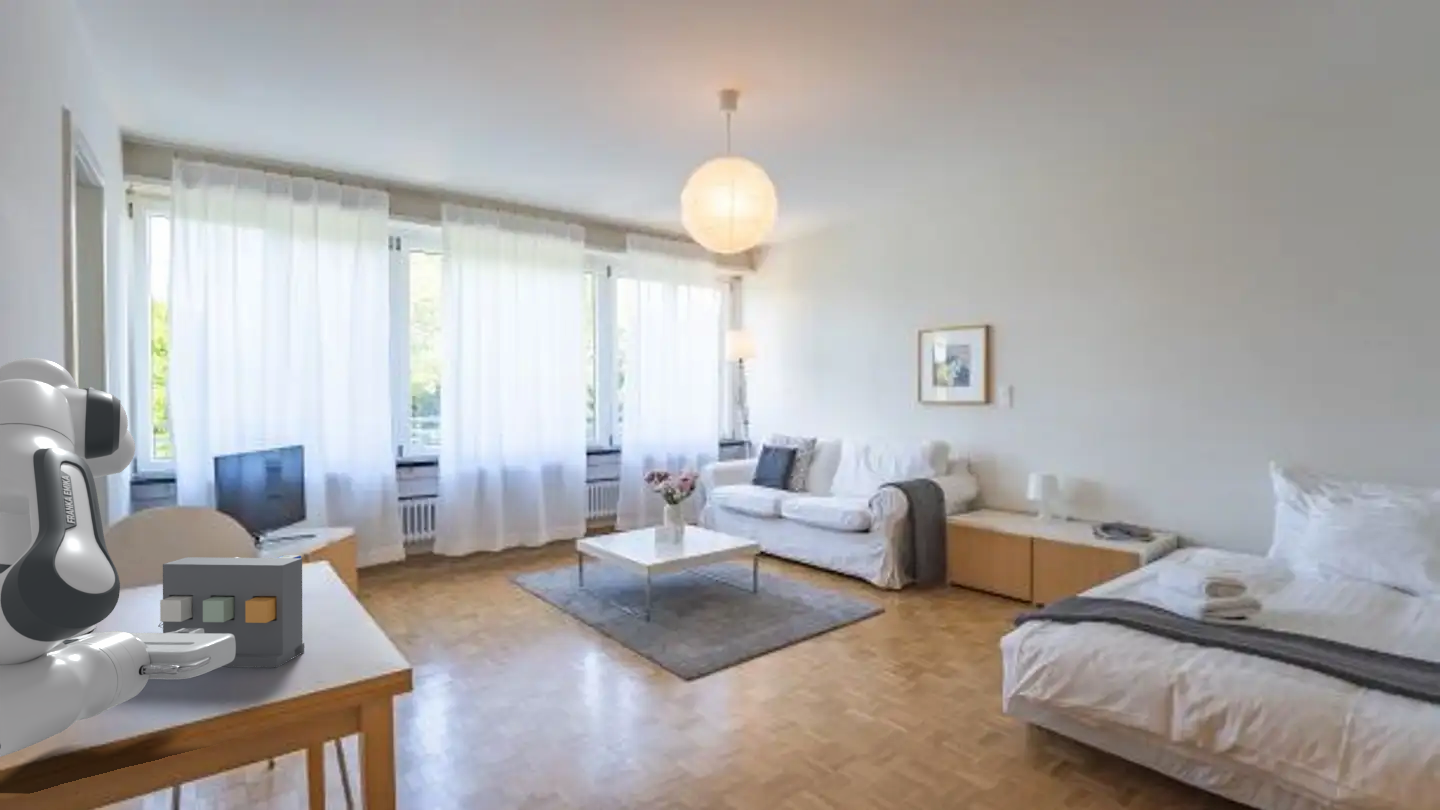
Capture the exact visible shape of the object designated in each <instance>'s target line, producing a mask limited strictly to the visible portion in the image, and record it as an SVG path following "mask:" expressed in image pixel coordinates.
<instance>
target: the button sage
mask: <svg viewBox="0 0 1440 810" xmlns="http://www.w3.org/2000/svg"><path fill="white" fill-rule="evenodd" d="M232 618H235V596H214V597H212V598H209V599H206V600H203V622H225V621H228V620H230V619H232Z"/></svg>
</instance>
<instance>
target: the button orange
mask: <svg viewBox="0 0 1440 810" xmlns="http://www.w3.org/2000/svg"><path fill="white" fill-rule="evenodd" d="M245 616H246V623H267V622H269V621H271V620H274V619H276V618H277V596H257V597H255V598H252V599H250V600H247V601H245Z"/></svg>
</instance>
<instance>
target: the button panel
mask: <svg viewBox="0 0 1440 810" xmlns="http://www.w3.org/2000/svg"><path fill="white" fill-rule="evenodd" d="M174 595H193V617H192V618H189V619H187V620H184V621H182V622H166V621H163V622H162V624H163V625H162V627H163V628H162V633H168V632H175V631H177V630H180V629H182V628H187V629H198V628H199V629H204V633H222V634H225V633H229V634H233V635H234V637H235V642H236V653H235V658H234V660H233V661H232V662H230V663H228V664H226V665H224V666H222V667H221V668H223V667H224V668H225V667H226V668H227V667H228V668H231V667H232V668H233V667H234V668H274V667H277V668H278V667H280V666H282V665H284V664H286V663H287V662H289V661H291V660H292V659H294V658H296V657H298V656H300V655H301V654H302V652H303V653H304V652H305V642H303V558H302V557H301V558H278V557H239V558H235V557H205V556H204V557H203V556H201V557H199V556H196V557H195V556H193V557H192V556H191V557H190V556H189V557H188V556H187V557H183V558H179V559H176V560H173V561H169V562H166V563H163V564H162V599H165V598H168V597H171V596H174ZM214 596H235V618H232V619H230V620H228V621H225V622H203V600H206V599H209V598H212V597H214ZM257 596H277V618H276V619H274V620H271V621H269V622H267V623H246V616H245V601H247V600H250V599H252V598H255V597H257ZM300 653H301V654H300ZM297 655H298V656H297ZM295 656H296V657H295ZM293 657H294V658H293ZM291 658H292V659H291ZM290 659H291V660H290ZM288 660H289V661H288ZM286 661H287V662H286ZM283 663H284V664H283ZM281 664H282V665H281ZM279 665H280V666H279Z"/></svg>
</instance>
